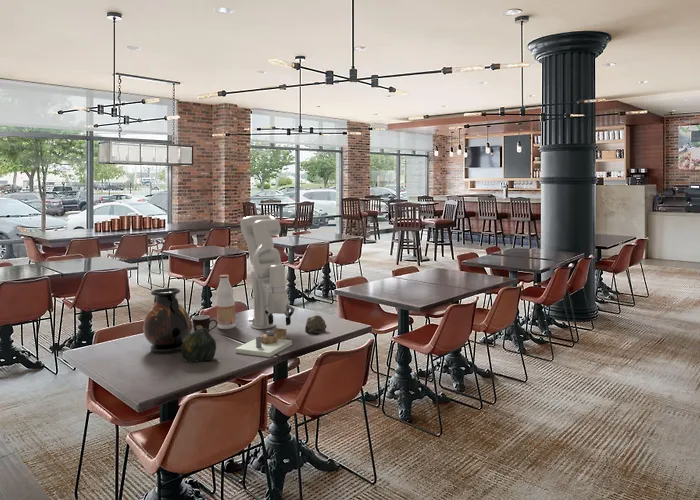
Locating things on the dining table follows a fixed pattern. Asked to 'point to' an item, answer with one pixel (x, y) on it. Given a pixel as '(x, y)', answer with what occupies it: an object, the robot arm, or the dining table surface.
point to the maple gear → (280, 333)
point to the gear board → (264, 345)
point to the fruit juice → (225, 304)
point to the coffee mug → (202, 322)
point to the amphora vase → (166, 322)
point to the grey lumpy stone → (315, 325)
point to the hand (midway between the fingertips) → (279, 324)
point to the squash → (198, 346)
